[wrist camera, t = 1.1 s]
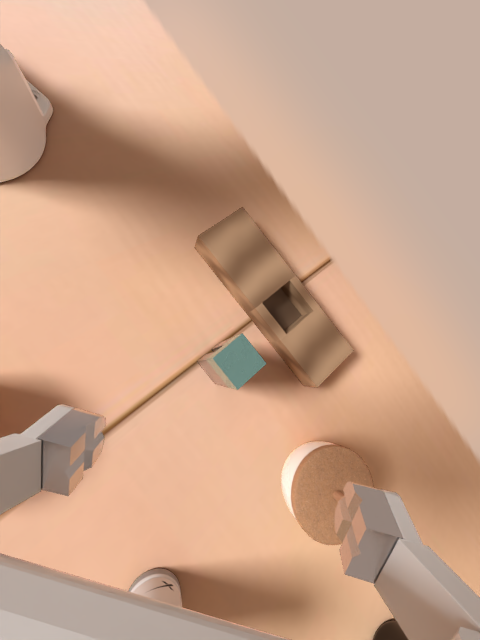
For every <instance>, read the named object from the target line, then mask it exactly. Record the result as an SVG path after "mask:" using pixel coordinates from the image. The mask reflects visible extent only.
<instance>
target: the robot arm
mask: <svg viewBox="0 0 480 640" xmlns="http://www.w3.org/2000/svg"><path fill="white" fill-rule="evenodd" d="M52 113H53V107H52V105H51V103H50V101H49V100H48V99H47V97H45V96H44V95H43V94H42V93H41V92H40V91H39V90H38V89H36V88H35V87H34V86H33V85H32V84H31V83H30V82H29V81H27V80H26V79H25V77H24V75H23V73H22V71H21V69H20V68H19V66H18V64H17V62H16V60H15V58H14V56H13V55H12V53H11V52H10V51H9V50H7V49H4V47H3V46H2V45H1V44H0V182H4V181H8V180H11V179H14V178H16V177H19V176H21V175H22V174H24V173H26V172H27V171H29V170H30V169H31V168H32V167H33V166H34V165H35V164H36V163H37V162H38V160H39V159H40V157H41V156H42V154H43V151H44V148H45V143H46V124H47V123H48V121H49V119H50V118H51V115H52ZM105 424H106V418H105V417H104V416H103V415H99V414H96V413H92V412H89V411H86V410H82V409H79V408H74V407H71V406H67V405H64V404H61V405H57V406H56V407H55V408H53V409H52V410H51V411H49V412H48V413H47V414H46V415H44V416H43V417H42V418H40V419H39V420H38V421H37V422H35V423H34V424H33V425H31V426H30V427H29V428H28V429H26V430H25V431H24V432H22V433H21V434H16V433H14V434H11V435H8V436H5V437H2V438H0V514H2V513H4V512H5V511H7V510H9V509H11V508H12V507H14V506H16V505H18V504H19V503H21V502H23V501H25V500H26V499H28V498H30V497H32V496H33V495H35V494H37V493H39V492H40V491H41V490H45V491H49V492H53V493H57V494H61V495H66V496H69V495H70V494H71V493H72V491H73V490H74V489H75V488H76V486H77V485H78V484H79V483H80V481H81V480H82V479H83V471H84V470H87V469H89V468H91V467H92V466H93V465H94V463H95V462H96V461H97V459H98V457H99V455H100V453H101V451H102V448H103V445H104V436H103V434H102V432H101V431H102V430H103V429H104V427H105ZM343 492H344V496H345V497H344V498H342V499H341V500H339V501H338V504H337V506H336V510H335V518H334V520H335V530H336V535H337V536H338V537H339V539H340V540H341V541H342V545H341V547H340V555H341V560H342V565H343V569H344V574H345V575H348V576H352V577H355V578H358V579H361V580H364V581H367V582H371V583H374V586H375V588H376V589H377V591H378V592H379V594H380V596H381V597H382V599H383V600H384V602H385V603H386V605H387V607H388V608H389V610H390V611H391V613H392V615H393V616H394V618H395V619H396V621H397V622H398V624H399V626H400V627H401V629H402V630H403V632H404V633H405V635H406V637H407V638H408V640H480V598H479V597H478V595H477V594H476V593H475V592H474V591H473V590H472V589H471V588H470V587H469V586H468V585H467V584H466V583H465V582H464V581H463V580H462V579H461V578H460V577H459V576H458V575H457V574H456V573H455V572H454V571H453V570H452V569H451V568H450V567H449V566H448V565H447V564H446V563H445V562H444V561H443V560H442V559H441V558H440V557H439V556H438V555H437V554H436V553H435V552H434V551H433V550H432V549H431V548H430V547H429V546H425V545H423V543H422V541H421V539H420V537H419V535H418V533H417V530H416V528H415V526H414V524H413V522H412V520H411V518H410V516H409V514H408V512H407V510H406V508H405V505H404V503H403V501H402V499H401V497H400V496H399V495H398V494H397V493H395V492H391V491H387V490H383V489H378V488H374V487H370V486H366V485H362V484H358V483H354V482H350V481H348V482H347V483H346V485H345V487H344V489H343ZM0 640H291V639H287V638H284V637H281V636H277V635H274V634H270V633H267V632H264V631H260V630H257V629H253V628H250V627H247V626H243V625H240V624H237V623H233V622H230V621H226V620H223V619H220V618H216V617H213V616H209V615H206V614H203V613H199V612H196V611H193V610H189V609H186V608H183V607H179V606H176V605H172V604H169V603H166V602H162V601H159V600H156V599H152V598H149V597H146V596H142V595H139V594H136V593H132V592H129V591H125V590H122V589H119V588H115V587H112V586H109V585H105V584H102V583H99V582H95V581H92V580H88V579H85V578H82V577H78V576H75V575H72V574H68V573H65V572H62V571H58V570H55V569H51V568H48V567H45V566H41V565H38V564H35V563H31V562H28V561H25V560H21V559H18V558H14V557H11V556H8V555H4V554H1V553H0Z"/></svg>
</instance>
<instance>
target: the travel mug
mask: <svg viewBox="0 0 480 640" xmlns="http://www.w3.org/2000/svg"><path fill="white" fill-rule="evenodd" d="M129 592H132V593H136V594H139V595H142V596H146V597H149V598H152V599H156V600H159V601H162V602H166V603H169V604H172V605H176V606H179V607H182V599H181V589H180V584H179V581H178V579H177V578H176V576H175V575H174V574H173V573H172V572H170V571H168V570H166V569H160V568H157V569H152V570H149V571H147V572H145V573H143V574H142V575H140V576H139V577H138V578H137V579H136V580H135V581H134V582H133V584H132V585H131V587H130V589H129Z"/></svg>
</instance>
